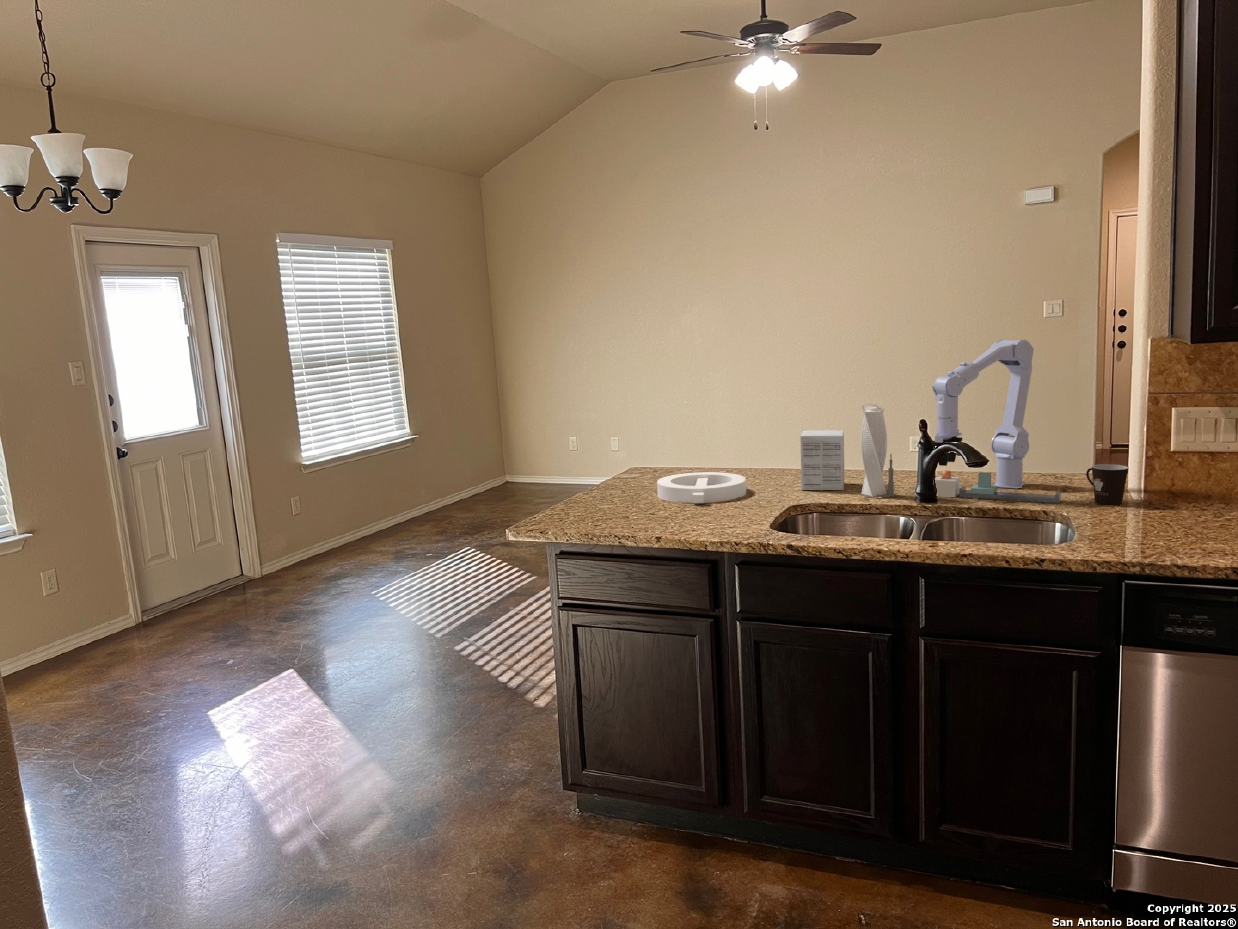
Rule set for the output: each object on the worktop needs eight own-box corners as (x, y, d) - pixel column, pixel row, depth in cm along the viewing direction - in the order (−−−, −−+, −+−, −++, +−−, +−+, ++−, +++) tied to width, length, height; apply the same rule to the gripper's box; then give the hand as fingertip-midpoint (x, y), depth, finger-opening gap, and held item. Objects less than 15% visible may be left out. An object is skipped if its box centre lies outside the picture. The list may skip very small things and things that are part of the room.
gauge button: (943, 476, 258) (943, 470, 257) (951, 477, 256) (951, 470, 256) (941, 478, 256) (941, 471, 255) (950, 478, 254) (950, 472, 254)
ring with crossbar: (697, 508, 258) (697, 492, 257) (640, 495, 280) (639, 481, 280) (764, 493, 274) (764, 478, 274) (705, 483, 297) (704, 469, 296)
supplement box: (803, 483, 286) (802, 430, 283) (844, 483, 283) (844, 429, 280) (800, 491, 274) (799, 435, 271) (843, 491, 270) (843, 435, 267)
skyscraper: (872, 499, 256) (872, 404, 251) (854, 495, 263) (854, 402, 259) (895, 495, 259) (895, 402, 255) (877, 491, 267) (876, 400, 262)
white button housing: (938, 492, 261) (938, 476, 260) (959, 493, 258) (959, 477, 257) (933, 496, 256) (933, 479, 255) (954, 497, 253) (955, 480, 252)
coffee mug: (1131, 506, 231) (1133, 469, 230) (1096, 506, 233) (1097, 470, 232) (1116, 497, 243) (1117, 462, 241) (1082, 497, 244) (1083, 462, 243)
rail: (962, 494, 256) (962, 486, 256) (1060, 500, 242) (1060, 492, 242) (959, 497, 253) (959, 488, 253) (1058, 503, 239) (1059, 494, 239)
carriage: (975, 489, 255) (975, 470, 254) (997, 490, 252) (997, 472, 251) (971, 493, 250) (971, 474, 249) (993, 494, 247) (994, 475, 246)
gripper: (952, 420, 245) (952, 468, 247) (969, 415, 256) (968, 460, 258) (927, 420, 249) (927, 466, 252) (945, 414, 261) (944, 459, 263)
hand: (946, 463), depth 255 cm, fingers open, 6 cm apart
